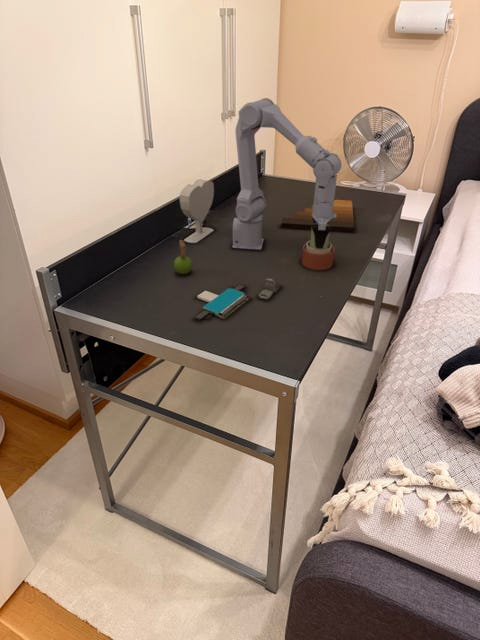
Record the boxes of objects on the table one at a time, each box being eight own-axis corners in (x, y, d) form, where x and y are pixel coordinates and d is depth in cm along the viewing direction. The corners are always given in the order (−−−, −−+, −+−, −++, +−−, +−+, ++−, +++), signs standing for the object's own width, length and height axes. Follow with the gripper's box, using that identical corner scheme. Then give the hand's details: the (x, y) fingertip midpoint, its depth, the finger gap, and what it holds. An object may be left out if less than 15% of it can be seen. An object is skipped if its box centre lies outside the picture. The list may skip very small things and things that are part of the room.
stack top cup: (304, 267, 143) (306, 249, 140) (305, 256, 149) (306, 238, 146) (329, 269, 142) (332, 250, 139) (329, 258, 148) (331, 239, 145)
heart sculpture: (204, 225, 169) (202, 175, 159) (216, 228, 167) (215, 177, 157) (180, 241, 158) (176, 189, 148) (193, 244, 156) (190, 191, 146)
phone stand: (222, 280, 136) (222, 275, 135) (257, 292, 131) (257, 287, 130) (177, 311, 123) (177, 306, 122) (214, 326, 117) (214, 321, 116)
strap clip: (267, 301, 127) (268, 287, 125) (257, 298, 128) (257, 284, 126) (281, 287, 133) (281, 273, 131) (271, 284, 135) (272, 271, 132)
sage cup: (309, 251, 141) (311, 229, 137) (309, 243, 146) (311, 222, 142) (328, 252, 140) (330, 230, 137) (327, 244, 145) (330, 223, 141)
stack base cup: (301, 269, 142) (302, 254, 140) (302, 254, 150) (303, 240, 147) (333, 271, 141) (335, 256, 138) (332, 256, 149) (334, 242, 146)
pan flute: (281, 228, 168) (353, 233, 164) (282, 219, 166) (354, 224, 162) (286, 203, 188) (350, 207, 185) (287, 195, 186) (351, 199, 183)
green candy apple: (176, 280, 136) (173, 242, 130) (173, 270, 142) (170, 232, 135) (195, 277, 138) (192, 239, 131) (191, 267, 143) (188, 230, 136)
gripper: (339, 209, 128) (333, 254, 136) (337, 191, 140) (332, 234, 148) (312, 207, 129) (308, 253, 136) (313, 190, 141) (309, 232, 148)
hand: (319, 243), depth 142 cm, fingers closed on sage cup, 5 cm apart
